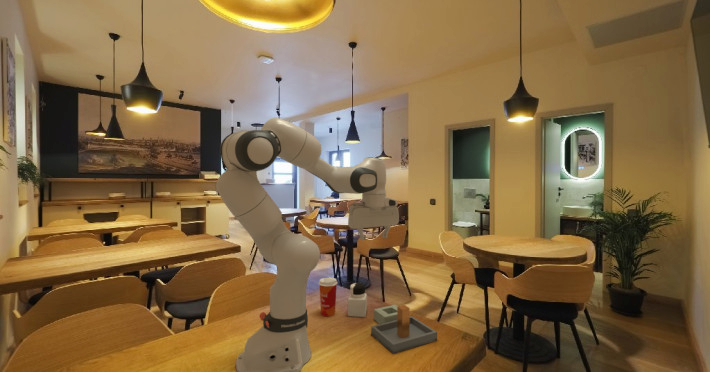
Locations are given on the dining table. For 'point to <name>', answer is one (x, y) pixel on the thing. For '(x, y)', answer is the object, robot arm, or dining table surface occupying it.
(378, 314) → the socket block
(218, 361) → the dining table surface
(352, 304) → the medicine bottle
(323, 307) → the paper cup
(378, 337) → the tray
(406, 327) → the pin
